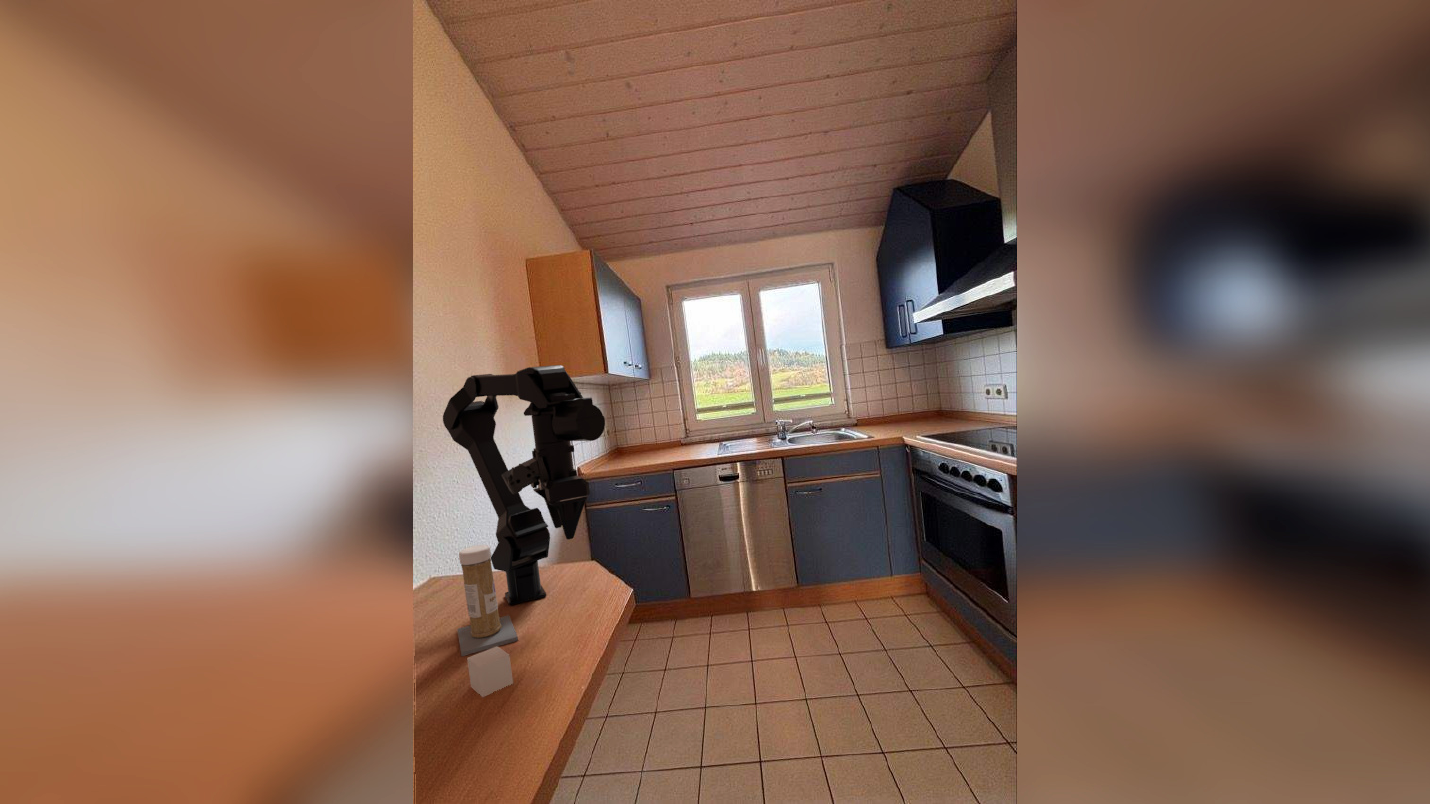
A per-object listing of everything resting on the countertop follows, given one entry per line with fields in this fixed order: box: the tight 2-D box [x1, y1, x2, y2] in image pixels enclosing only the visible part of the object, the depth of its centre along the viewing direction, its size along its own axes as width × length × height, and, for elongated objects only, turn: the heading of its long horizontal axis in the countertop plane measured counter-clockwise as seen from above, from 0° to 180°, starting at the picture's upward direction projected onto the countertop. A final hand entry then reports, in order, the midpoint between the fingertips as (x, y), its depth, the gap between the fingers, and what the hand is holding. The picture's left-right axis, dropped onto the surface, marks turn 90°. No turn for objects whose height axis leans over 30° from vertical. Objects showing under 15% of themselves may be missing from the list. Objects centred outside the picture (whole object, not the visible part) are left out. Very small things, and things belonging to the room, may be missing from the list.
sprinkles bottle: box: [458, 544, 501, 638], centre depth 95 cm, size 5×5×13 cm
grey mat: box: [456, 614, 519, 657], centre depth 95 cm, size 10×8×1 cm
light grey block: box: [466, 646, 514, 698], centre depth 79 cm, size 4×4×4 cm
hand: (563, 533), depth 102 cm, fingers open, 9 cm apart
